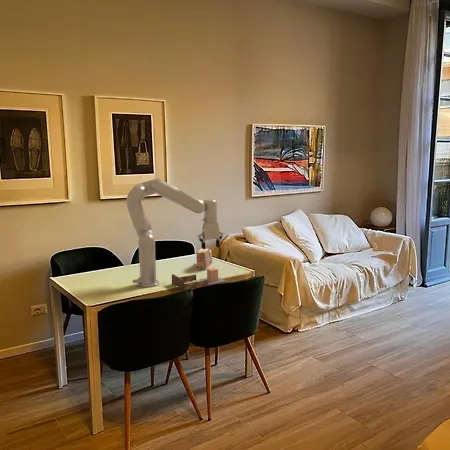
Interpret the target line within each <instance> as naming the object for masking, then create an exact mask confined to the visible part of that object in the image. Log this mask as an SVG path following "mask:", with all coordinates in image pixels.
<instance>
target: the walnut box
mask: <svg viewBox="0 0 450 450" xmlns="http://www.w3.org/2000/svg"><path fill="white" fill-rule="evenodd" d="M193 280H195V281H193ZM186 281H190V282H186ZM171 284H172V285H173V286H174V285H175V287H176V286H178V287H177V288H178V289H179V290H181V291H188V290H193V289H194V290H195V289H198V288H203V287H208V284H207V280H203V281H201V280H199V281H197V274H196V273H195V274H191V275H186V276H185V275H184V276H177V275H176V274H174V273H172V274H171Z"/></svg>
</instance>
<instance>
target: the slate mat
mask: <svg viewBox="0 0 450 450" xmlns="http://www.w3.org/2000/svg"><path fill="white" fill-rule="evenodd" d="M201 280H202V281H203V280H207V277H204V278H199V281H201ZM220 283H227V280H226V279H223V278H221V277H219V276H218V281H213V282H210V281H208V280H207V285H209V286H210V285H216V284H220Z"/></svg>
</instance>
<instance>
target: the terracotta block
mask: <svg viewBox="0 0 450 450" xmlns="http://www.w3.org/2000/svg"><path fill="white" fill-rule="evenodd" d="M218 277H219V269H218V268H216V267H211V268H210V267H208V268H207V269H206V278H207V280H208V281H210V282H213V281H218Z"/></svg>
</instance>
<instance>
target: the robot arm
mask: <svg viewBox="0 0 450 450" xmlns="http://www.w3.org/2000/svg"><path fill="white" fill-rule="evenodd" d="M154 194H156V195H158V196H161V197H162V198H165V199H167V200H169V201H170V202H173V203H175V204H177V205H179V206H181V207H183V208H185V209H187V210H189V211H191V212H193V213H195V214H202V213H203V215H204V216H203V218H202V219H201V220H202V222H203V223H202V230H201V231H202V232H201V233H200V234H198V235H197V239H198V241H200V243H201V248H202V249H206V241H207V240H215V247H216V248H220V245H221V243H220V241H221V240H222V239H223V236H224V233H223V232H222V231H220V225H219V222H218V221H217V220H218V217H217V215H218V212H217V211H218V206H217V200H216V199H200V198H199V199H198V198H195V197H193V196H191V195H189V194H188V193H186V192H185V191H183V190H182V189H180V188H179V187H176V186H174V185H173V184H171V183H168V182H167V181H165V180H163V179H161V178H153V179H151V180H147V181H142V182H140V183H137V184H135V185H133V187H132V188H131V189H130V191H129V193H128V194H127V195H126V201H125V202H126V207H127V211H128V214H129V217H130V220H131V222H132V226H133V229H135V232H136V234H137V238H138V241H137V242H138V258H139V259H138V260H139V276H138V278H137V279H132V281H131V282H132V283H133V284H137V286H138V287H141V288H142V287H143V288H152V287H156V286H158V285H159V284H160V280H159V279H158V280H157V264H156V263H157V262H156V240H155V239H156V238H155V233H154V230H153V228H152V225H151V223H150V219H149V217H148V216H147V215H146V213H145V210H144V207H143V204H142V201H143V199H144V198H146V197H147V196H151V195H154Z"/></svg>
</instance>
